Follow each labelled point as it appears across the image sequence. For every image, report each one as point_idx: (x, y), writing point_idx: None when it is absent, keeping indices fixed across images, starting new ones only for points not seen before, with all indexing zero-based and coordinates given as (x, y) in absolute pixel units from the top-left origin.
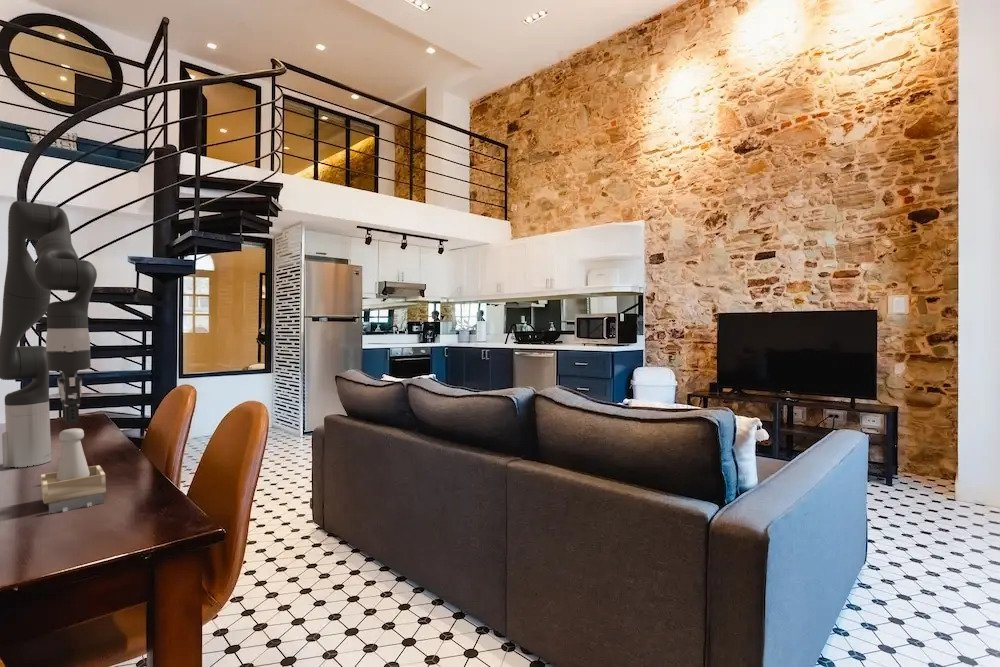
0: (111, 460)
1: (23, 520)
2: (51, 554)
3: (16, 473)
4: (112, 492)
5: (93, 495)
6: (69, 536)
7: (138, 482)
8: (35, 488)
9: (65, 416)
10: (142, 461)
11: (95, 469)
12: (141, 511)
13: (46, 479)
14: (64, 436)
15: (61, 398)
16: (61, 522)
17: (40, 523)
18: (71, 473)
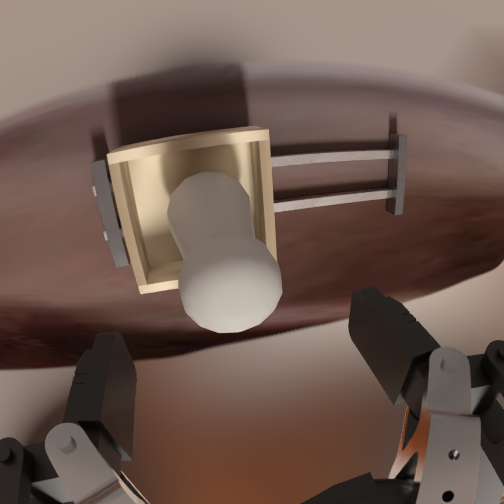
0: (469, 245)
1: (81, 115)
2: None
3: (494, 103)
4: None
5: (114, 248)
6: None
7: None
8: (374, 113)
9: (357, 303)
10: (422, 295)
11: None
12: (35, 315)
13: (254, 141)
14: (183, 264)
15: (449, 369)
16: (26, 195)
17: (39, 156)
18: (170, 218)
